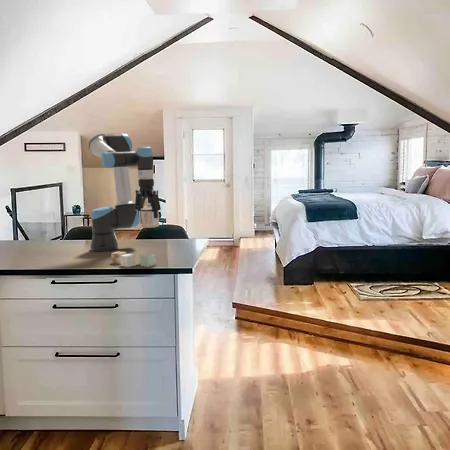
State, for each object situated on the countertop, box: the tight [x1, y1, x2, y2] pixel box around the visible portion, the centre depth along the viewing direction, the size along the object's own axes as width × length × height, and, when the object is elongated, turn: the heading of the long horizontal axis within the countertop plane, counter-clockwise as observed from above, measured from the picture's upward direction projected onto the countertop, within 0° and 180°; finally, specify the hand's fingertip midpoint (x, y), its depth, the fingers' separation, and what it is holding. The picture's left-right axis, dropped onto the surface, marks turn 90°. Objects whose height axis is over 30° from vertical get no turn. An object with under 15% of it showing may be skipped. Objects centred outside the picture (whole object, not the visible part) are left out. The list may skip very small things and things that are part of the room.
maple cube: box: [110, 251, 127, 265], centre depth 251 cm, size 5×5×5 cm
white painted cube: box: [120, 253, 137, 268], centre depth 244 cm, size 5×5×5 cm
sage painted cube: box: [139, 253, 157, 268], centre depth 243 cm, size 5×5×5 cm
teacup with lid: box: [141, 202, 160, 229], centre depth 256 cm, size 12×9×12 cm
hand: (148, 224), depth 257 cm, fingers closed on teacup with lid, 8 cm apart
